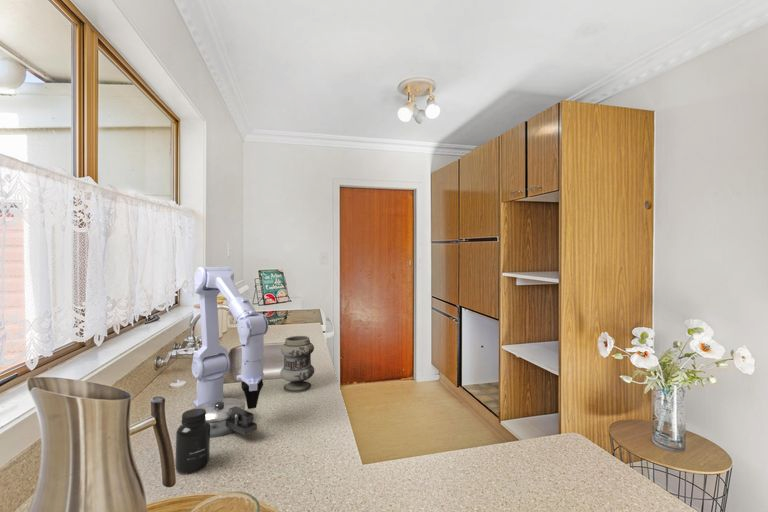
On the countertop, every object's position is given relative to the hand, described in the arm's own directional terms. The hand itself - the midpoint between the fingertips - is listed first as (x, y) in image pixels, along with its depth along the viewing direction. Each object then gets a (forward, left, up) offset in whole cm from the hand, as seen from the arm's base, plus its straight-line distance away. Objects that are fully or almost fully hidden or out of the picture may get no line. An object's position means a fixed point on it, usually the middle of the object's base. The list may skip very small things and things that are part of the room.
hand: (251, 407), depth 97 cm
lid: (-3, -6, -1) cm, 7 cm away
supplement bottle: (+10, -17, -6) cm, 20 cm away
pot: (-3, -6, -5) cm, 8 cm away
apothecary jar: (-18, +23, -6) cm, 30 cm away
